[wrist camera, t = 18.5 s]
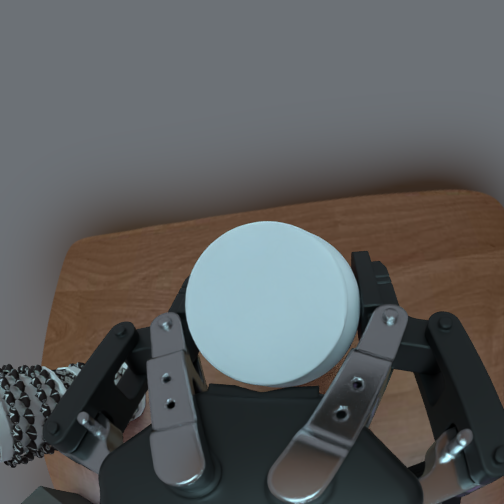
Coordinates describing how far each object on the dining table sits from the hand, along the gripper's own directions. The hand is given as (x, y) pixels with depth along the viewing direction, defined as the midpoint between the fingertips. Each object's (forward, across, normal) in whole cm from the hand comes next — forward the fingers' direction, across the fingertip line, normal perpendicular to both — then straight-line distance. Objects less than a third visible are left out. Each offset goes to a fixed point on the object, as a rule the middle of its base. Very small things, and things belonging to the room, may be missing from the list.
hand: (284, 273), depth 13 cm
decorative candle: (+3, +23, +20) cm, 30 cm away
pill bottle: (+3, 0, +5) cm, 6 cm away
